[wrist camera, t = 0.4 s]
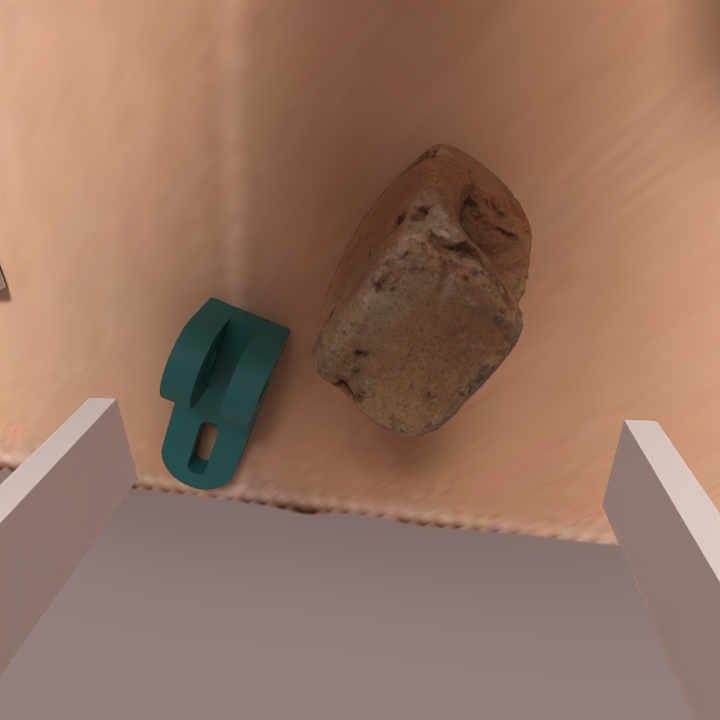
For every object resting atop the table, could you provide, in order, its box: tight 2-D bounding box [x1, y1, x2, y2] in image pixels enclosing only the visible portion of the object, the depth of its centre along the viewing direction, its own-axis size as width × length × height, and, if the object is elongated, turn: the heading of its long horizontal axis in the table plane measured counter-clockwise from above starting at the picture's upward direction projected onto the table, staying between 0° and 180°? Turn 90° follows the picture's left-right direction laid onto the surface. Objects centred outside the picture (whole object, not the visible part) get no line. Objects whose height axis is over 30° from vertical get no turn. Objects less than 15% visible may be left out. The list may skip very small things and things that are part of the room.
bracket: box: [160, 297, 290, 489], centre depth 44 cm, size 18×7×8 cm, turn 158°
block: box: [312, 144, 532, 437], centre depth 30 cm, size 11×8×20 cm
